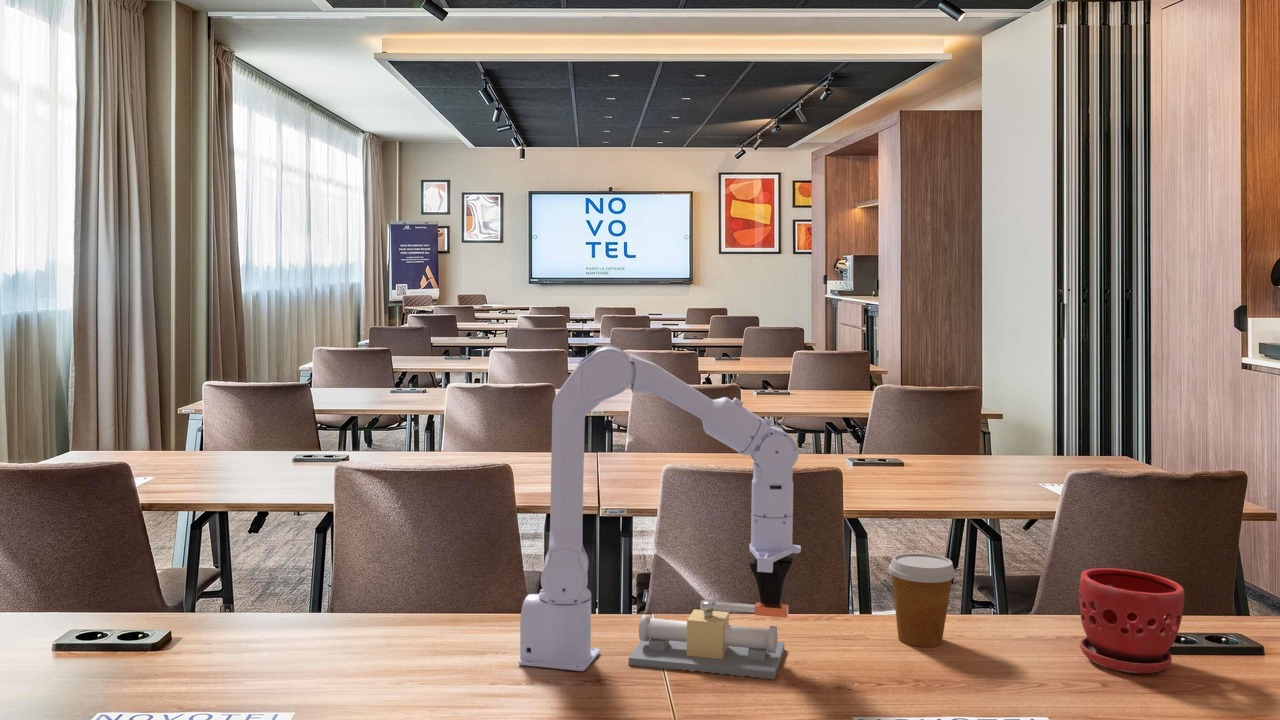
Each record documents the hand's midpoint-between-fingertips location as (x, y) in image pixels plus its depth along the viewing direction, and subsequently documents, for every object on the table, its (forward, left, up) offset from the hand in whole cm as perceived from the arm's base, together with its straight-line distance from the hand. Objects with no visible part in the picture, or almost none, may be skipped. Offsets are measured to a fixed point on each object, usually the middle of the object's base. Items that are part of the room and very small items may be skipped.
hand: (770, 610), depth 143 cm
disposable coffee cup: (+21, +14, -7) cm, 26 cm away
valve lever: (-3, -2, 0) cm, 4 cm away
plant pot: (+49, +12, -7) cm, 50 cm away
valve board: (-8, -2, -7) cm, 11 cm away
